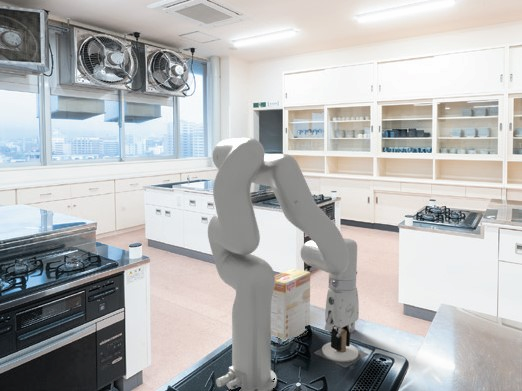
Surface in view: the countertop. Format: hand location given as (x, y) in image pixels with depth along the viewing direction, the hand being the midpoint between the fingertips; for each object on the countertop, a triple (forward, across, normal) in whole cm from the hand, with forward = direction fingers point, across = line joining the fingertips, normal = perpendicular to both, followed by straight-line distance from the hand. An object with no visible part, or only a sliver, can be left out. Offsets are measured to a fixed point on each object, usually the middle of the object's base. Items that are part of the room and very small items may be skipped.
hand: (340, 346), depth 113 cm
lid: (+2, 0, 0) cm, 2 cm away
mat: (+3, 0, 0) cm, 3 cm away
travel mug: (+3, +14, +8) cm, 17 cm away
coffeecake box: (+3, -2, +18) cm, 19 cm away
